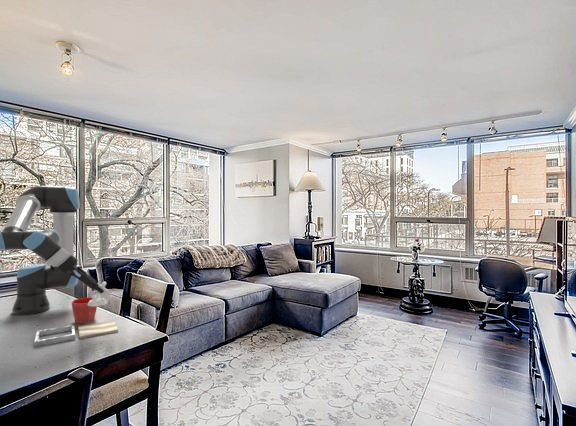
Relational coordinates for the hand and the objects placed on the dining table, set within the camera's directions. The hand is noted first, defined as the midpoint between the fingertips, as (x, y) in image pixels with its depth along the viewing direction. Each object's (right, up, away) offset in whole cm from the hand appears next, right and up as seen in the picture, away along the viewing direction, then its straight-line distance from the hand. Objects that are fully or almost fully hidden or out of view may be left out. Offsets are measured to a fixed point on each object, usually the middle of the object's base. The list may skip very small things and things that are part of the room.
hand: (107, 295), depth 142 cm
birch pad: (-3, -15, -2) cm, 15 cm away
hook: (-3, -4, -2) cm, 5 cm away
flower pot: (-16, -15, +10) cm, 24 cm away
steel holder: (-16, -15, -10) cm, 24 cm away
